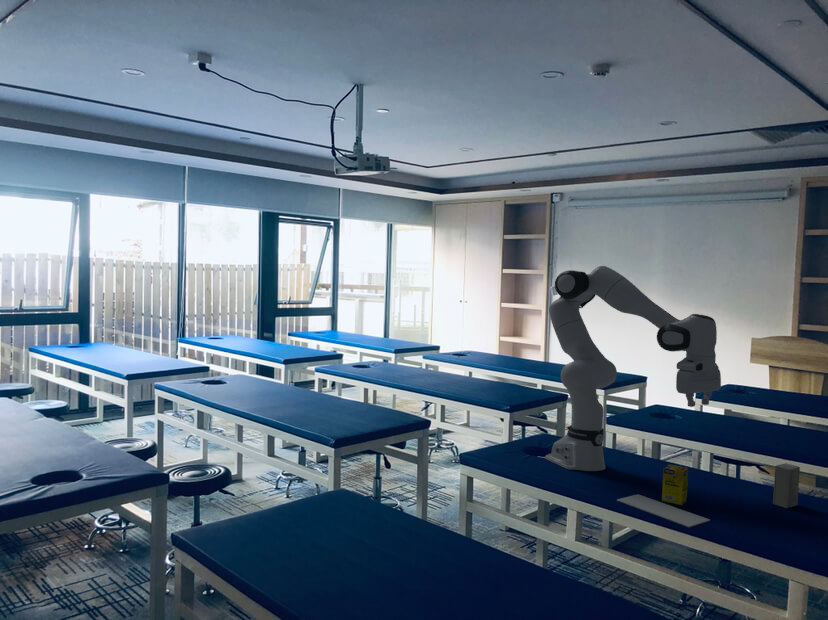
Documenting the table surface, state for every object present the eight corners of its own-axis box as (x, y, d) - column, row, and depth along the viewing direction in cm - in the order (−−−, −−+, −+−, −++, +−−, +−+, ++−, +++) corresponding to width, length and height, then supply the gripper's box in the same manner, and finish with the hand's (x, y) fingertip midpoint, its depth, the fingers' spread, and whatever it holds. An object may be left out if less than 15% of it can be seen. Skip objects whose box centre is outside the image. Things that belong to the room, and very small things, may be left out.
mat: (616, 500, 190) (616, 499, 190) (637, 495, 195) (637, 494, 195) (689, 527, 170) (689, 526, 170) (710, 520, 175) (710, 519, 175)
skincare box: (783, 501, 194) (786, 462, 194) (798, 505, 191) (800, 466, 190) (772, 504, 191) (774, 465, 191) (786, 508, 187) (789, 469, 187)
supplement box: (682, 508, 185) (683, 471, 185) (661, 503, 189) (663, 467, 188) (687, 502, 190) (688, 467, 189) (666, 498, 193) (668, 463, 193)
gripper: (709, 361, 212) (707, 401, 213) (673, 363, 201) (671, 406, 201) (727, 363, 207) (725, 404, 207) (691, 366, 196) (689, 409, 196)
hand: (698, 405), depth 204 cm, fingers open, 6 cm apart
